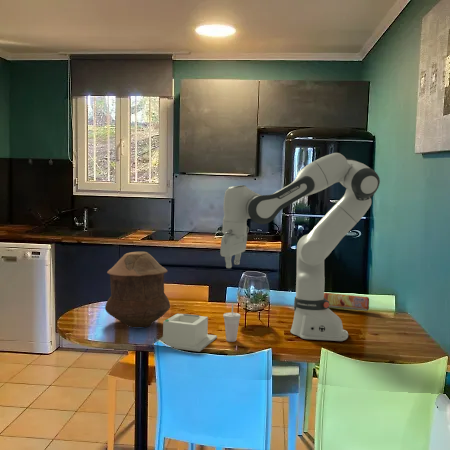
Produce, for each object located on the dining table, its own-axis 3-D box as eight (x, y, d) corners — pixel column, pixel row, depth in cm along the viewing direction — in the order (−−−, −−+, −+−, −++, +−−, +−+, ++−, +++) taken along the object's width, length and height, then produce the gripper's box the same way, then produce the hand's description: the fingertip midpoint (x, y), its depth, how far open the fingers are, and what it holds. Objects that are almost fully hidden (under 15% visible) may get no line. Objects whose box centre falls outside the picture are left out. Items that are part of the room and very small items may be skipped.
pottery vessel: (178, 332, 203) (180, 255, 201) (112, 338, 192) (113, 257, 190) (159, 316, 226) (160, 247, 224) (99, 321, 216) (100, 249, 214)
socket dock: (216, 337, 197) (217, 314, 196) (199, 351, 180) (200, 326, 179) (173, 332, 202) (173, 310, 202) (152, 345, 185) (152, 321, 185)
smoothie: (225, 343, 190) (226, 305, 189) (220, 338, 196) (221, 301, 195) (242, 342, 192) (243, 304, 191) (237, 337, 198) (238, 300, 197)
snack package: (368, 311, 245) (369, 297, 248) (368, 308, 239) (369, 294, 242) (323, 308, 252) (324, 294, 254) (321, 305, 246) (322, 291, 249)
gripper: (233, 231, 182) (232, 270, 183) (250, 227, 201) (248, 263, 203) (216, 230, 184) (215, 269, 185) (234, 226, 203) (233, 262, 205)
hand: (232, 266), depth 194 cm, fingers open, 8 cm apart
